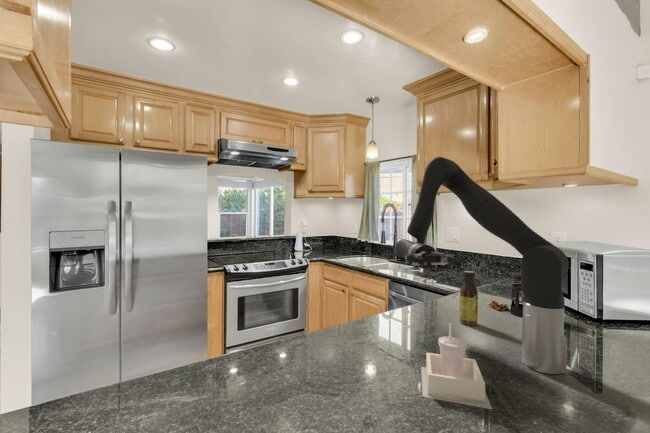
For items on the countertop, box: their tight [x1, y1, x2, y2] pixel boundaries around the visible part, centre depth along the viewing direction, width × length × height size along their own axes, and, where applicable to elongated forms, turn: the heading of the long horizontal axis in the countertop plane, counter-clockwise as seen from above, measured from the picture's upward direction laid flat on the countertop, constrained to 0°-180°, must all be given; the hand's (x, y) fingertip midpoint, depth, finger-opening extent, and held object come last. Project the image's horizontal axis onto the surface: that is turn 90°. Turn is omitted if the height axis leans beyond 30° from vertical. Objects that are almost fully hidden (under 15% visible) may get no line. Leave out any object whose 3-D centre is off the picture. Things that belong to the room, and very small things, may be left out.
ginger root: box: [487, 299, 511, 312], centre depth 139 cm, size 7×12×4 cm, turn 6°
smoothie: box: [437, 322, 468, 378], centre depth 73 cm, size 6×6×14 cm
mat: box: [420, 366, 493, 410], centre depth 73 cm, size 14×14×1 cm
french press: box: [509, 259, 523, 318], centre depth 129 cm, size 12×9×23 cm
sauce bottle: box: [459, 270, 479, 327], centre depth 117 cm, size 7×6×20 cm
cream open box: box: [425, 352, 486, 405], centre depth 73 cm, size 12×12×4 cm
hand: (439, 262), depth 84 cm, fingers open, 8 cm apart
